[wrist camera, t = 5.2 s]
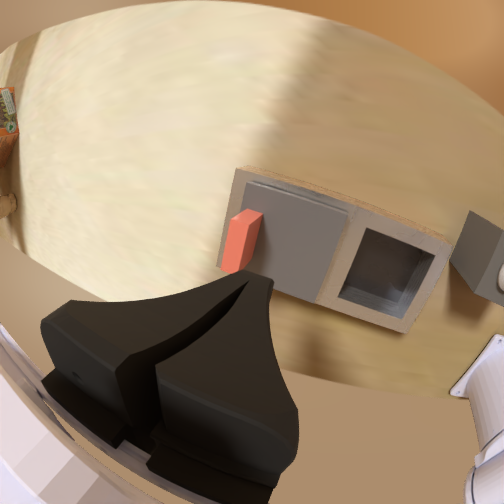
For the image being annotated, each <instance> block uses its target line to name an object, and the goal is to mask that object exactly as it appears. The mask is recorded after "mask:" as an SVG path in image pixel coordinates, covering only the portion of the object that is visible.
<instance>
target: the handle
mask: <svg viewBox="0 0 504 504" xmlns="http://www.w3.org/2000/svg"><path fill="white" fill-rule="evenodd" d="M15 209H17V204H16V198H15V196H14V194H8V196H0V219H1V218H3V217H5V216H7V215H8V214H9V213H10V214H11V213H13V212H14V211H15Z"/></svg>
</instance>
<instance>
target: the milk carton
mask: <svg viewBox="0 0 504 504" xmlns="http://www.w3.org/2000/svg"><path fill="white" fill-rule="evenodd" d="M18 135H19V128H18V121H17V114H16V105H15V94H14V87H7V88H0V168H3V167H4V166H5V163H6V161H7V159H8V156H9V154H10V152H11V150H12V147H13V145H14V143H15V141H16V139H17V137H18Z"/></svg>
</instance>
